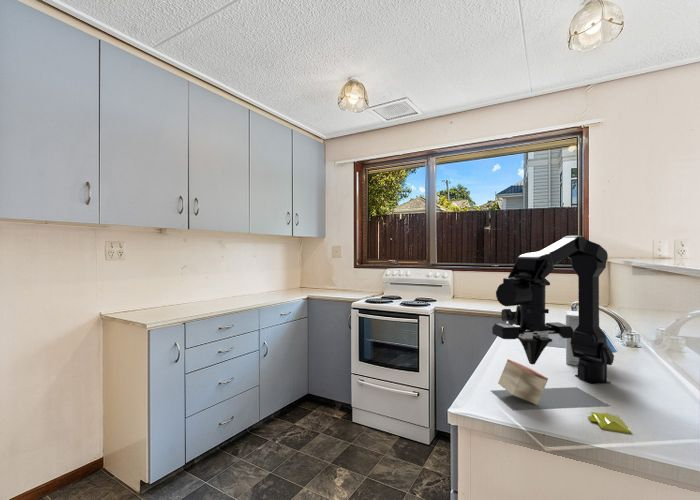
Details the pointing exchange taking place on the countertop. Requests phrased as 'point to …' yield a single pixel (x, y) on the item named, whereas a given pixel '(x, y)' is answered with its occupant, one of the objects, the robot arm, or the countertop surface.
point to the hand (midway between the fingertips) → (531, 363)
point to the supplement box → (572, 321)
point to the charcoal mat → (551, 399)
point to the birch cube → (522, 381)
